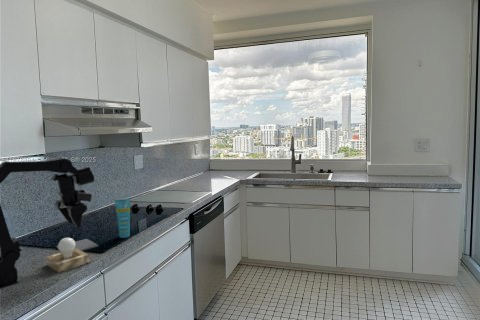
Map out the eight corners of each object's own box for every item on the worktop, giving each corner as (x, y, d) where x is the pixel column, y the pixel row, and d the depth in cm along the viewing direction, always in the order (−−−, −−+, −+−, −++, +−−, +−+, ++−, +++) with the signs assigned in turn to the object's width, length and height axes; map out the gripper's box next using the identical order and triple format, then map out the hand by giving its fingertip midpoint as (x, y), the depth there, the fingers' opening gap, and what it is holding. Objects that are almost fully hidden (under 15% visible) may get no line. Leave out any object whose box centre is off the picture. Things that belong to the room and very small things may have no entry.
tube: (118, 239, 171) (115, 201, 169) (116, 236, 175) (113, 199, 173) (133, 236, 174) (130, 199, 172) (131, 233, 178) (129, 197, 176)
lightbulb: (67, 268, 137) (65, 241, 136) (56, 266, 140) (53, 239, 139) (80, 261, 143) (78, 236, 142) (69, 260, 146) (66, 234, 144)
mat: (66, 255, 151) (66, 253, 151) (56, 247, 161) (56, 246, 161) (98, 246, 161) (98, 245, 161) (86, 239, 171) (86, 238, 171)
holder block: (58, 272, 133) (57, 264, 133) (47, 264, 141) (46, 256, 141) (89, 262, 142) (88, 254, 142) (77, 256, 150) (76, 248, 150)
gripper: (96, 186, 138) (103, 223, 141) (78, 181, 151) (85, 215, 154) (67, 193, 130) (75, 232, 133) (51, 188, 143) (59, 223, 146)
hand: (74, 225), depth 142 cm, fingers open, 9 cm apart
